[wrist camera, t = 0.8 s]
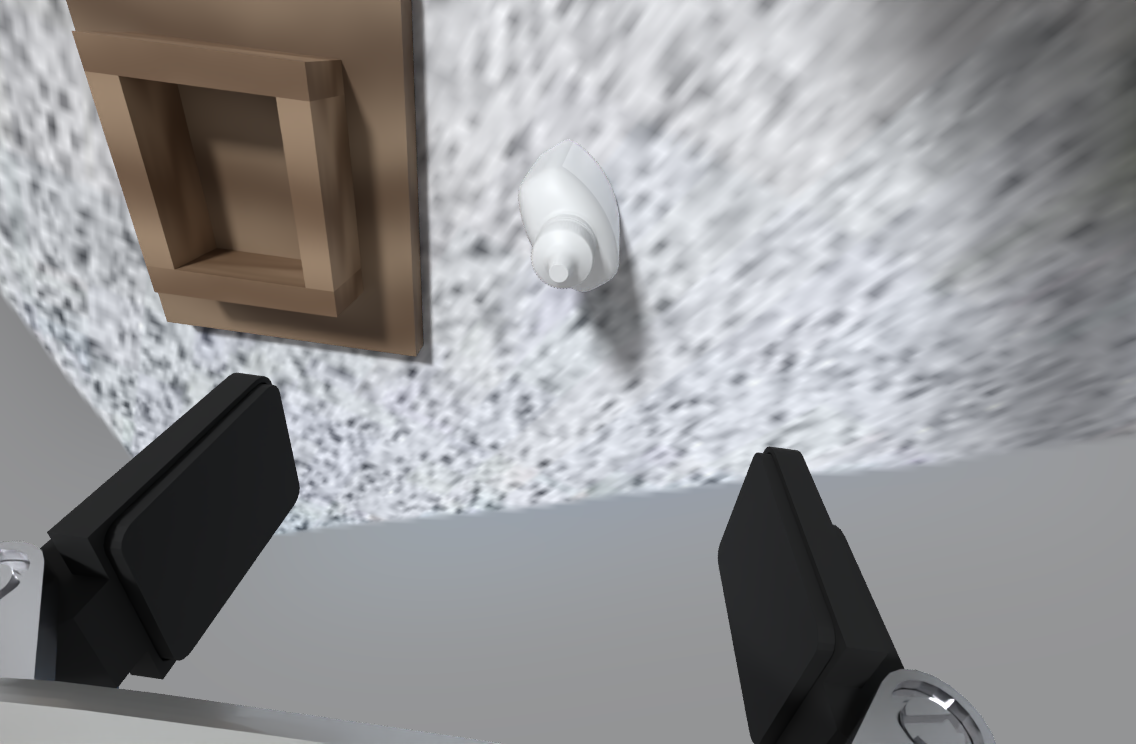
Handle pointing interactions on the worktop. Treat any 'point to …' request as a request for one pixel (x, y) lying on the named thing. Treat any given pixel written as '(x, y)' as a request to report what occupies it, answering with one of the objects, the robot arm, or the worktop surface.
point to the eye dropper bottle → (570, 219)
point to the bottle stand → (267, 160)
